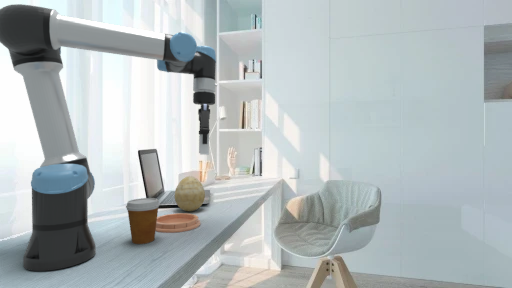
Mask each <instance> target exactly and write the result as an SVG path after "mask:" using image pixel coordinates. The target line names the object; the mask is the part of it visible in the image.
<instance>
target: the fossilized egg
mask: <svg viewBox="0 0 512 288" xmlns="http://www.w3.org/2000/svg"><path fill="white" fill-rule="evenodd" d="M205 197H206V191H205V188H204V185H203V184H202V182H201V181H200V180H199V179H198V178H196V177H195V176H192V175H191V176H190V175H189V176H186V177H185V176H184V178H182V180H180V181H179V182H178V185H177V186H176V187H175V192H174V200H175V203H176V205H177V207H178V208H179V209H180V210H183V211H185V212H195V211H197V210H198V209H200V207H202V205H203V204H204V201H205V200H206V199H205Z"/></svg>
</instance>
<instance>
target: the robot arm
mask: <svg viewBox="0 0 512 288" xmlns="http://www.w3.org/2000/svg"><path fill="white" fill-rule="evenodd" d="M0 44H2V45H3V46H4V47H5V48H6V49H7V50H8V53H9V56H10V57H9V58H10V60H11V64H12V67H13V70H14V71H15V72H16V73H18V74H20V76H22V77H23V83H24V85H25V86H24V87H25V90H26V92H27V93H26V94H27V97H28V101H29V104H30V108H31V112H32V116H33V120H34V124H35V128H36V131H37V134H38V139H39V142H40V145H41V150H42V152H43V157H44V160H43V161H42V163H41V164H40V166H39V167H37V168H36V169H34V171H33V172H32V174H31V175H32V177H31V180H30V187H31V217H32V219H31V220H32V221H31V222H32V225H31V227H32V228H31V229H32V230H31V231H32V232H31V235H30V238H29V241H28V244H27V246H26V249H25V251H24V255H23V259H22V261H23V262H22V263H23V268H24V269H26V270H29V271H35V272H44V271H45V272H46V271H55V270H60V269H65V268H70V267H73V266H76V265H79V264H82V263H84V262H86V261H88V260H90V259H92V258H93V257H94V256H96V243H95V240H94V238H93V235H92V232H91V230H90V227H89V222H88V199H89V198H90V197H91V195H92V194H93V193H94V190H95V185H96V184H95V183H96V182H95V181H96V180H95V177H94V174H93V173H92V172H91V170H90V166H89V165H90V164H89V162H88V158H87V156H86V155H85V154H82V153H81V152H80V151H79V146H78V143H77V139H76V135H75V131H74V127H73V124H72V119H71V115H70V112H69V108H68V102H67V99H66V96H65V91H64V87H63V84H62V80H61V76H60V72H61V71H62V70H63V69H64V64H63V63H64V62H63V59H62V56H61V53H62V49H61V48H62V47H63V48H71V49H78V50H84V51H85V50H86V51H91V52H92V51H93V52H98V53H99V52H100V53H107V54H113V55H114V54H115V55H119V56H121V55H122V56H127V57H128V56H129V57H134V58H141V59H142V58H144V59H149V60H150V59H151V60H156V67H157V69H158V71H160V72H164V73H174V74H175V73H176V74H186V75H193V79H192V80H193V81H192V82H193V83H192V85H193V86H192V90H193V94H192V98H193V99H192V101H193V104H195V105H200V108H198V111H197V115H198V121H199V131H198V138H199V139H198V154H199V155H206V156H207V155H209V154H210V152H209V151H210V132H211V131H210V119H211V118H210V117H211V115H210V114H211V109H210V106H213V105H215V104H216V94H215V92H216V87H217V86H218V84H217V83H216V70H217V69H216V68H217V67H216V66H217V65H216V64H217V58H216V57H217V55H216V50H215V49H214V48H213V47H212V46H208V45H197V42H196V39H195V37H194V36H193V35H191V34H190V33H188V32H185V31H180V32H179V31H178V32H177V33H174V34H168V33H162V32H156V31H151V30H146V29H142V28H141V29H140V28H135V27H128V26H123V25H118V24H112V23H105V22H102V21H101V22H100V21H96V20H90V19H84V18H79V17H74V16H69V15H67V16H66V15H62V14H60V13H59V12H58V11H57V10H56V9H54V8H53V9H52V8H49V7H48V8H47V7H42V6H36V5H31V4H23V3H22V4H17V3H16V4H7V5H6V6H3V7H1V8H0Z"/></svg>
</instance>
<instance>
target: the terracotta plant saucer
mask: <svg viewBox="0 0 512 288" xmlns="http://www.w3.org/2000/svg"><path fill="white" fill-rule="evenodd" d="M200 226H201V219H199V216H198V215H196V214H193V213H188V212H187V213H185V212H184V213H181V212H180V213H170V214H168V213H167V214H164V215H159V216H157V222H156V230H155V233H156V232H157V233H163V234H165V233H167V234H171V233H175V234H176V233H182V232H188V231H193V230H195V229H197V228H199V227H200Z"/></svg>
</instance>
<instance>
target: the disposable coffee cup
mask: <svg viewBox="0 0 512 288" xmlns="http://www.w3.org/2000/svg"><path fill="white" fill-rule="evenodd" d="M160 205H161V203H160V202H159V199H158V198H154V197H146V198H143V197H142V198H135V199H131V200H128V201H127V204H126V205H125V208H126V210H127V214H128V222H129V228H130V229H129V230H130V235H131V237H130V238H131V242H132V244H136V245H143V244H144V245H145V244H149V243H151V242H154V241H155V236H156V231H155V230H156V222H157V217H158V212H159V207H160Z"/></svg>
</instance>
